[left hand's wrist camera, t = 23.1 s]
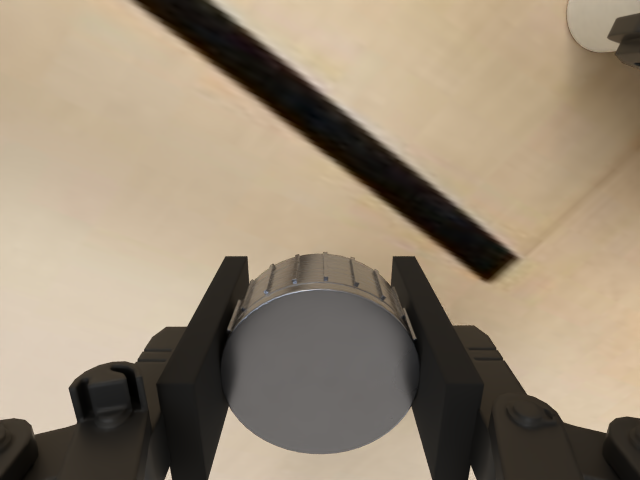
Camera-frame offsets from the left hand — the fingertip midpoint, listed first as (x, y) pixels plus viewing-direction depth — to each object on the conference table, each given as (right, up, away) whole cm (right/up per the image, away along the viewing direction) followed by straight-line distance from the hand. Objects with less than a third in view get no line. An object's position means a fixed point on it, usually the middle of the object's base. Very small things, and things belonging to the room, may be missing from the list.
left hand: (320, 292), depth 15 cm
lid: (0, -2, -4) cm, 4 cm away
